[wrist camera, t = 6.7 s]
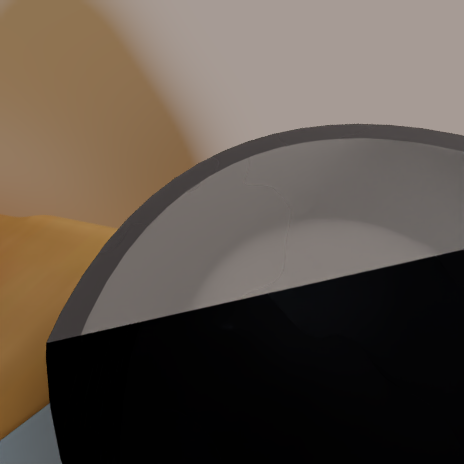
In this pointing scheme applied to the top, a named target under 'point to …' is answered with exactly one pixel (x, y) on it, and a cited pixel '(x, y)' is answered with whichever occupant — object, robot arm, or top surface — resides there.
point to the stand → (32, 442)
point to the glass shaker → (276, 310)
